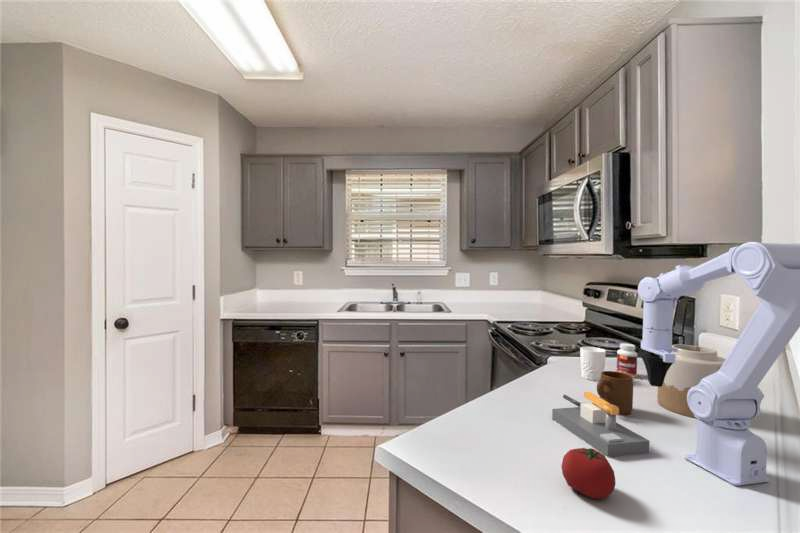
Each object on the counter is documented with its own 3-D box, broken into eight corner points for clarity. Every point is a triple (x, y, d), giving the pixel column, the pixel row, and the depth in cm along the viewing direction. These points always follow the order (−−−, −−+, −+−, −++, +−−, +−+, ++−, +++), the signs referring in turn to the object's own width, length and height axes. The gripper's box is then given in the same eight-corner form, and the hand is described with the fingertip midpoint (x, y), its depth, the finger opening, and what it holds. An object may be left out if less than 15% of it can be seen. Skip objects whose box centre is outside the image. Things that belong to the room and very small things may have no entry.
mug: (612, 421, 90) (613, 383, 90) (583, 410, 96) (584, 374, 96) (638, 412, 96) (639, 376, 96) (609, 402, 102) (610, 369, 102)
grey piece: (649, 452, 74) (650, 423, 74) (607, 456, 72) (608, 427, 72) (586, 416, 92) (587, 392, 92) (552, 418, 90) (552, 394, 90)
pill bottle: (616, 376, 127) (617, 345, 127) (615, 371, 133) (616, 342, 133) (637, 379, 125) (638, 347, 124) (635, 374, 130) (636, 344, 130)
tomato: (597, 477, 65) (598, 437, 65) (626, 507, 57) (627, 462, 57) (553, 477, 65) (554, 437, 65) (577, 507, 57) (578, 461, 57)
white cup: (574, 375, 127) (575, 347, 126) (589, 373, 130) (590, 345, 130) (594, 382, 119) (595, 352, 119) (610, 380, 123) (611, 350, 123)
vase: (684, 419, 91) (686, 354, 91) (645, 397, 107) (646, 341, 107) (745, 422, 91) (748, 356, 91) (697, 399, 106) (699, 343, 106)
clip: (621, 414, 78) (621, 409, 78) (609, 414, 78) (609, 409, 78) (592, 396, 89) (592, 391, 89) (581, 396, 88) (581, 391, 88)
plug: (607, 422, 83) (608, 409, 83) (592, 423, 82) (593, 410, 82) (571, 401, 95) (571, 390, 95) (557, 402, 94) (558, 391, 94)
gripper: (692, 335, 77) (690, 398, 77) (663, 324, 91) (662, 378, 91) (654, 332, 79) (652, 394, 79) (632, 322, 93) (630, 375, 93)
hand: (655, 385), depth 85 cm, fingers closed
